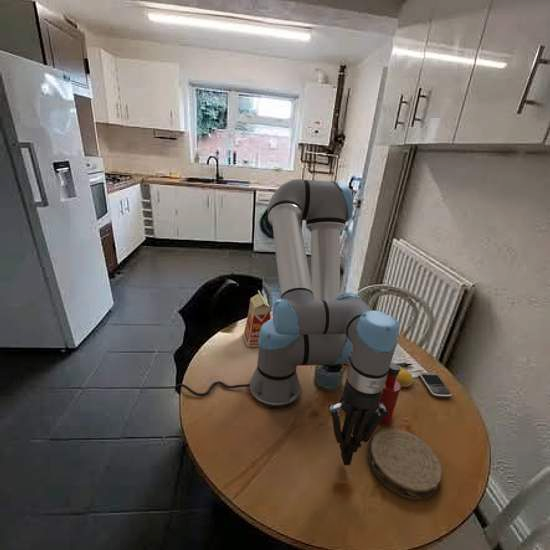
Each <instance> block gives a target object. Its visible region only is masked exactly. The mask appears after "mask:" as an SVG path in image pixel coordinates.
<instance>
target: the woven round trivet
mask: <svg viewBox="0 0 550 550" xmlns="http://www.w3.org/2000/svg"><path fill="white" fill-rule="evenodd" d="M368 452H369V453H368V454H369V463H370V466H371V468H372V471H373V472H374V474H375V475H376V477H377V478H378V479H379V481H380V482H382V483H383V484H384V485H385V486H386V487H387V488H388V489H389V490H391V491H393V492H394V493H396V494H398V495H399V496H402V497H405V498H409V499H412V500H424V499H426V498H428V497H431V496H433V494H435V492H436V491H437V489H438V487H439V485H440V482H441V480H442V474H443V470H442V466H441V461H440V459H439V457H438V456H437V454H436V453H435V451H434V450H433V449H432V447H430V445H428V443H427V442H426V441H424V440H423V439H421V438H420V437H419V436H417V435H415V434H413V433H412V432H409V431H407V430H404V429H399V428H385V429H382V430H379V431H378V432H377V433H376V434H374V435H373V438H372V441H371V443H370V447H369V450H368Z"/></svg>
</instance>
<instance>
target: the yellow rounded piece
mask: <svg viewBox="0 0 550 550" xmlns="http://www.w3.org/2000/svg"><path fill="white" fill-rule="evenodd" d="M397 365H398V364H397ZM398 366H399V367H400V371H399V374H398V376H397V378H396V381H397V382H398V383H399V384H400V386H401V388H407V387H410V386H411V385H412V384H413V382H414V377H413V375H412V373H411V372H410V371H409V370H408V369H403V368H402V367H401V366H400V365H398Z"/></svg>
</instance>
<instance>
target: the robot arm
mask: <svg viewBox="0 0 550 550" xmlns="http://www.w3.org/2000/svg"><path fill="white" fill-rule="evenodd" d="M353 197H354V196H353V193H352V189H350V187H349V186H348V184H347V183H344V182H340V181H335V180H317V179H316V180H314V179H301V178H297V179H296V178H295V179H291V180H288V181H286V182H284V183H282V185H280V186H279V187H278V188H277V189H276V190H275V191H274V193H273V194H272V196H271V197H270V199H269V202H268V205H267V220H268V223H269V225H270V226H271V228H272V232H273V234H272V235H273V242H274V251H275V260H276V268H277V277H278V285H279V295H280V299H276V300H275V301H274V302H273V305H272V306H273V307H272V318H271V319H270V320H268V321H267V322H266V323H264V324H263V325H262V327H261V329H260V335H259V339H258V344H259V347H258V349H257V362H256V363H257V365H256V368H255V370H254V372H253V374H252V377H251V379H250V381H249V382H250V383H244V384H243V383H242V384H234V385H228V384H226V383H224V382H223V381H219V380H218V381H215V382H213V383H211V384H210V386H209V388H208V389H207V390H206V392H203V393H202V392H201V393H200V392H197V391H194V390H193V389H192V388H190V387H189V386H188V385H186V384H184V383H177V384H176V385H174V388H176V389H177V388H179V387H180V388H181V387H182V388H184V389H186V390H187V391H188V392H190V393H191V394H193V395H194V396H197V397H205V396H207V395H209V394H210V392H211V391H212V389H214V387H215V386H216V385H220V386H223V387H224V388H225V389H237V388H247V387H249V393H250V395H251V397H252V399H253V400H254V401H255V402H256V403H257V404H258V405H261V406H263V407H265V408H268V409H284V408H286V407H290V406H292V405H294V403H295V402H297V400H298V399H299V396H300V390H301V385H300V382H299V381H300V380H299V378H298V377H299V376H298V374H297V367H301V366H304V367H305V366H333V365H342V364H344V363H347V362H346V361H347V359H348V358H349V356H350V354H351V351H352V355H351V360H350V362H349V364H348V369H347V373H346V378H345V383H344V387H343V391H342V393H343V394H342V396H341V398H339V402H338V403H336V404H334V403H328V405H327V406H328V410H329V413H330V417H331V418H332V426H333V434H334V437H335V440H336V444H339V449H340V456H341V460H342V463H343V466H350V465H351V464H352V459H353V456H354V453H357V452H358V449H360V448H361V447H362V442H363V443H368V442H369V441H370V439H371V438H372V436H374V433H375V431H376V430H377V428H378V426H379V425H380V424H379V423H380V421H381V420H382V419H383V418H384V417H385V416H386V415H387V414H388V412H387V410H386V408H385V406H384V404H383V403H380V399H381V396H382V392H383V388H384V384H385V381H386V377H387V374H388V370H389V367H390V364H391V363H392V361H393V358H394V355H395V354H394V353H395V351H396V348H397V346H398V341H399V340H398V339H399V335H400V334H399V333H400V327H401V326H400V323H399V321H398V320H397V319H396V318H395V317H394V316H392V315H389V313H387V312H384V311H380V310H372V309H371V308H370V306H369V304H368V303H367V302H366V301H365V300H363V298H361V296H360V295H358V294H356V293H354V292H344V293H342V294H341V233H342V231H343V230H344V229H345V228H346V223H348V222H349V221H350V220H351V218H352V217H353V211H354V198H353ZM302 221H305V228H306V229H307V230H308V231H309V232H310V268H309V262H308V256H307V252H306V246H305V241H304V236H303V235H304V234H303V230H302V224H301V223H302ZM352 345H353V350H352ZM379 403H380V404H379ZM342 411H343V412H344V414H345V416H344V421H343V425H341V418H340V417H341V414H342Z"/></svg>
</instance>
